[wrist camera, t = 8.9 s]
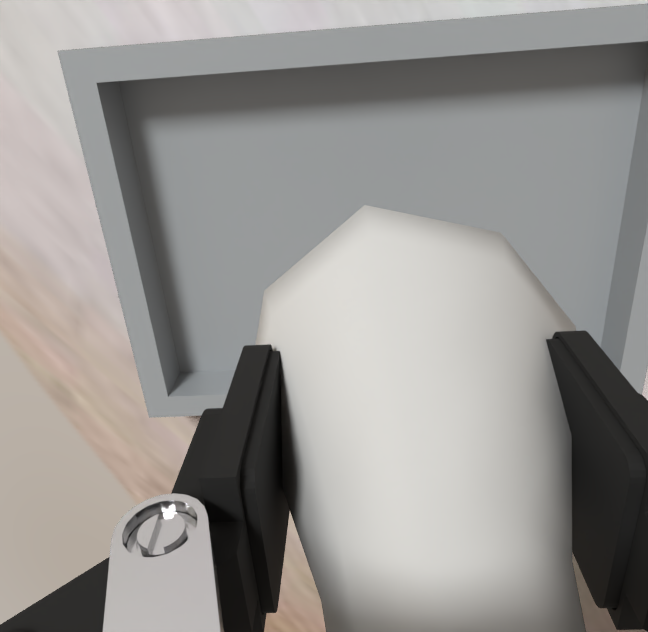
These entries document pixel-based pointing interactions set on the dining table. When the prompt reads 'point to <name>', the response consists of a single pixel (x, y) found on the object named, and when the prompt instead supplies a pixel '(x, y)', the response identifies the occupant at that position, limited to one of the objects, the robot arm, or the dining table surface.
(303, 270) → the flask
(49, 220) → the dining table surface
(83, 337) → the dining table surface
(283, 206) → the tray
